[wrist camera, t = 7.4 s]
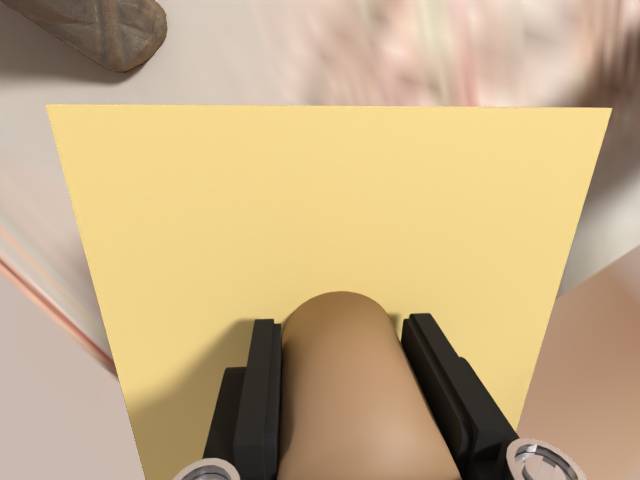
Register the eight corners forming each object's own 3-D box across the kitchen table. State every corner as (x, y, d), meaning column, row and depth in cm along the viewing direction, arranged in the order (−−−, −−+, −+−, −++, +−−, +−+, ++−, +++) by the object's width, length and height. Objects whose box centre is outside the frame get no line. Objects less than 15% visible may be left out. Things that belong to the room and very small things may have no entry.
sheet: (593, 107, 10) (952, 114, 4) (495, 459, 15) (604, 653, 10) (61, 104, 9) (-295, 107, 3) (156, 482, 14) (73, 713, 9)
